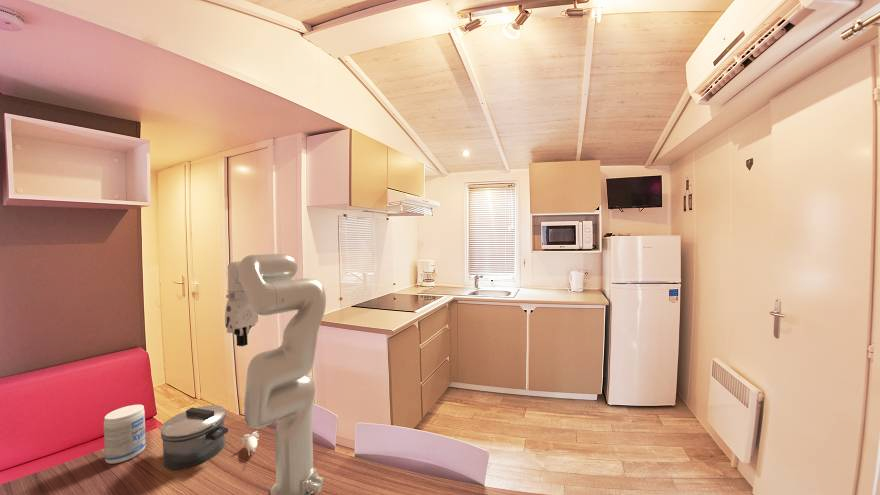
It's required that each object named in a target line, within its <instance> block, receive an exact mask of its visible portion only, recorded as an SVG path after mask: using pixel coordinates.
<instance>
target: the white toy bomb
mask: <svg viewBox="0 0 880 495" xmlns="http://www.w3.org/2000/svg"><path fill="white" fill-rule="evenodd" d="M243 436H244V437H242V438H241V440H243V441H241V443H242V444H241V445H242V446H243V445H245V444H246V447H247V448H246V449H247V450H246V451H248V452H247V453H248V456H251V453H250V452H251V451H252V452H254V454H256V453H257V446H258V441H259V440H260V439H259V437H260V433H259V430H258V429H256V431H253V432H252V433H250V434H249V433H248V434H243Z"/></svg>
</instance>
